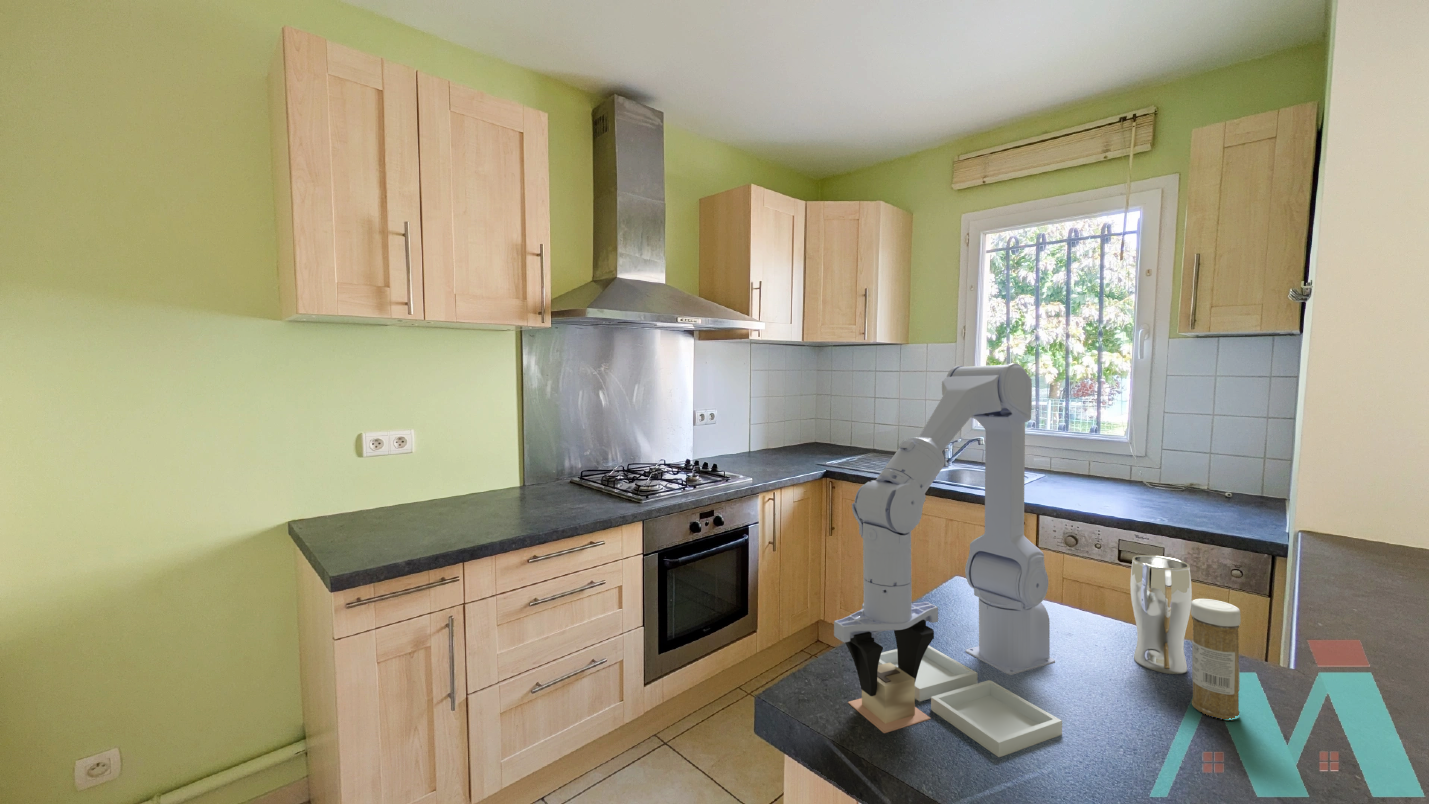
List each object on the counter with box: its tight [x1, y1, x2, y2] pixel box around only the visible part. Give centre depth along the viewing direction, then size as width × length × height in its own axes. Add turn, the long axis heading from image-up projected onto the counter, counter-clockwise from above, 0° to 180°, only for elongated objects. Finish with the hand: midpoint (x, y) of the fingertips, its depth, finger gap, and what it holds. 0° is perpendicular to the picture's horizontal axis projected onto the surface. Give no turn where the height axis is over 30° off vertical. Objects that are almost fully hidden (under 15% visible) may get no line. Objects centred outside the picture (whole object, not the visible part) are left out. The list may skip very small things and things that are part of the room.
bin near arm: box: [878, 645, 979, 702], centre depth 79 cm, size 10×10×2 cm
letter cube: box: [861, 663, 916, 724], centre depth 70 cm, size 4×4×5 cm
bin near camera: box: [930, 679, 1063, 758], centre depth 68 cm, size 10×10×2 cm
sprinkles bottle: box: [1190, 598, 1242, 720], centre depth 70 cm, size 5×5×14 cm
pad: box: [847, 697, 932, 734], centre depth 71 cm, size 7×7×1 cm
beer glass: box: [1129, 554, 1193, 675], centre depth 82 cm, size 7×7×15 cm
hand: (888, 686), depth 70 cm, fingers open, 5 cm apart
